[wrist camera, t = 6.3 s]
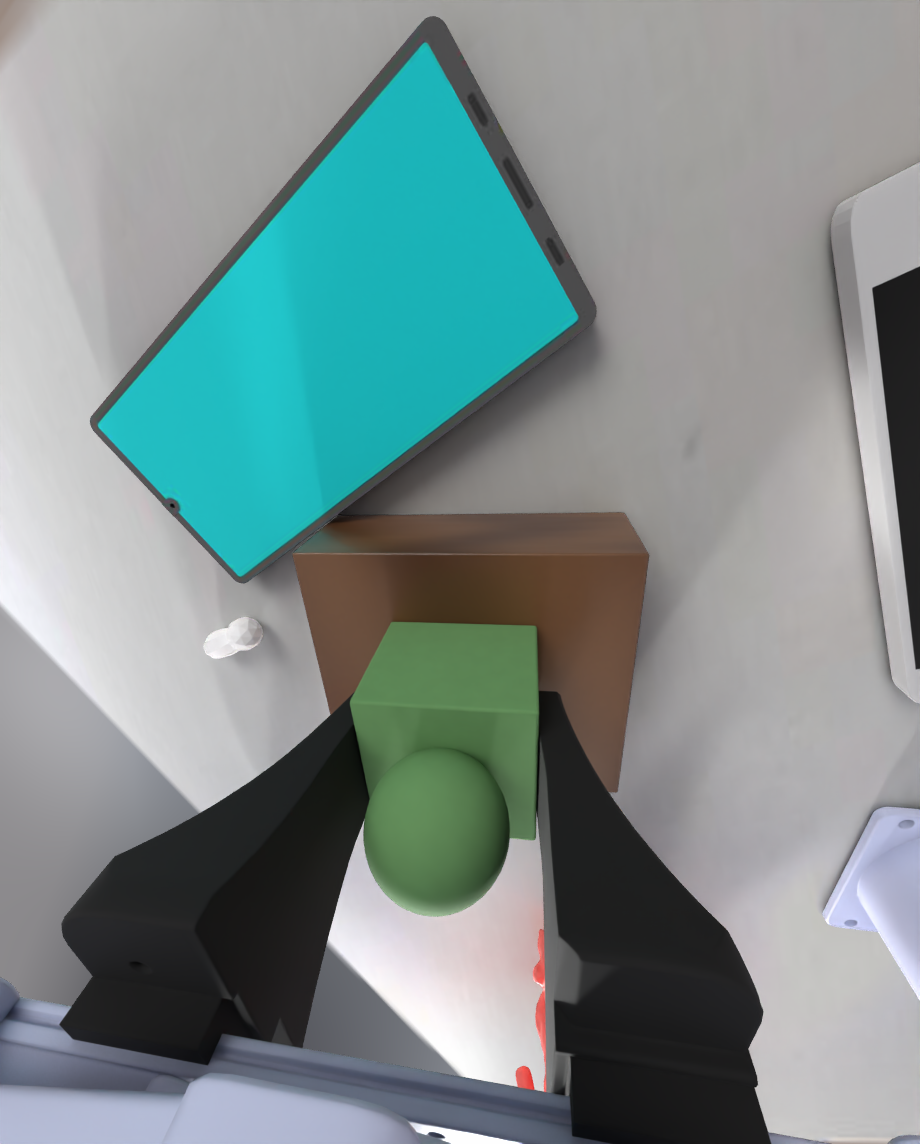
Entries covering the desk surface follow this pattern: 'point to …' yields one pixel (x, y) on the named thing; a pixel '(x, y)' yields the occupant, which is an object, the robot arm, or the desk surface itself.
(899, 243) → the smartphone
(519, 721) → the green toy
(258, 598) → the desk surface
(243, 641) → the pushpin
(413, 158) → the smartphone
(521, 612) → the wooden block
